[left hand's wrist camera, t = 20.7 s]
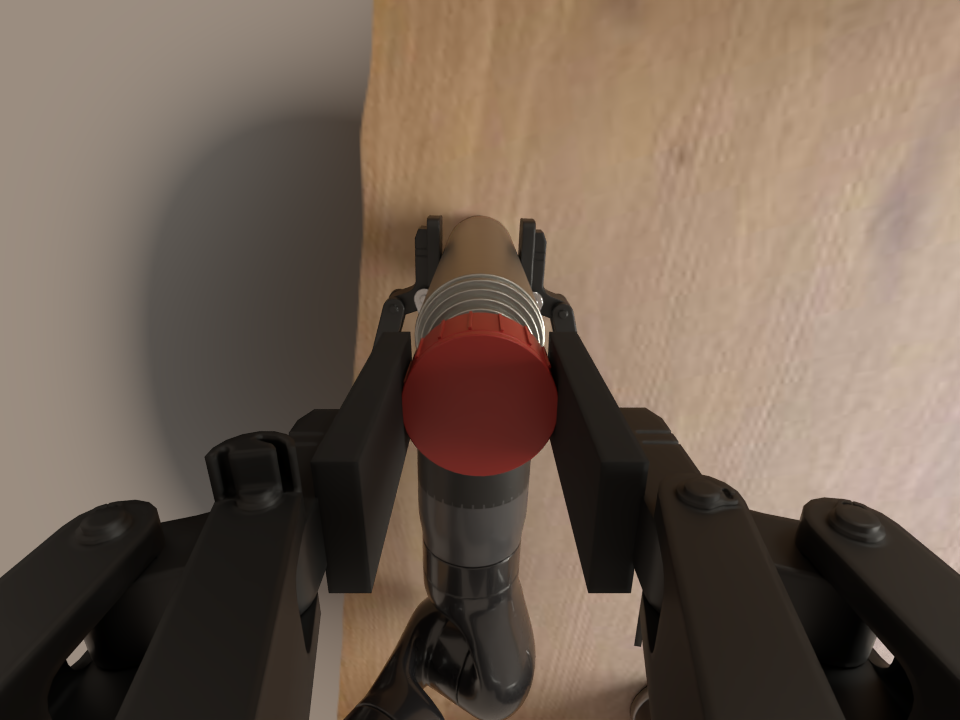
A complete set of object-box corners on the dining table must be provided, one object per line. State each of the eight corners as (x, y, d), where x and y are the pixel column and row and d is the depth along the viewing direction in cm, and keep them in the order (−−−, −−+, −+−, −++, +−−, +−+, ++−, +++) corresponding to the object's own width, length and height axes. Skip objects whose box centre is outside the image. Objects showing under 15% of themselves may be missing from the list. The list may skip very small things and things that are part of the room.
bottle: (525, 239, 35) (602, 372, 13) (490, 293, 36) (505, 498, 14) (469, 202, 34) (449, 279, 12) (435, 260, 35) (362, 423, 13)
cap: (437, 454, 15) (431, 494, 14) (388, 335, 14) (374, 362, 12) (565, 418, 15) (577, 453, 13) (528, 291, 14) (535, 311, 12)
